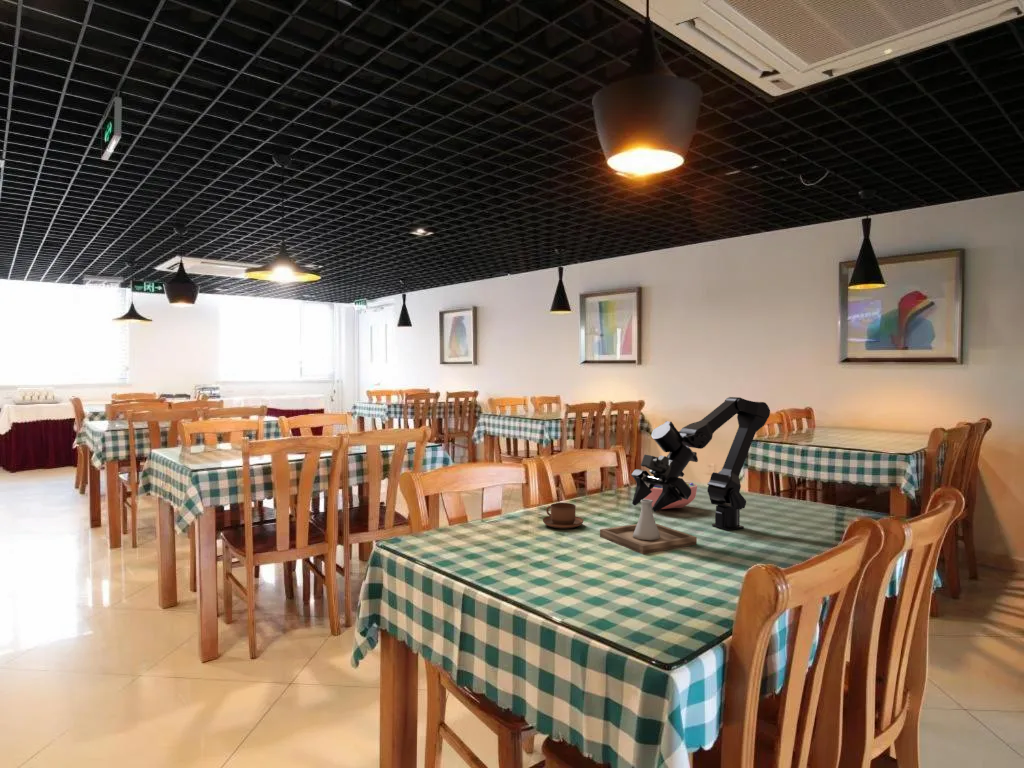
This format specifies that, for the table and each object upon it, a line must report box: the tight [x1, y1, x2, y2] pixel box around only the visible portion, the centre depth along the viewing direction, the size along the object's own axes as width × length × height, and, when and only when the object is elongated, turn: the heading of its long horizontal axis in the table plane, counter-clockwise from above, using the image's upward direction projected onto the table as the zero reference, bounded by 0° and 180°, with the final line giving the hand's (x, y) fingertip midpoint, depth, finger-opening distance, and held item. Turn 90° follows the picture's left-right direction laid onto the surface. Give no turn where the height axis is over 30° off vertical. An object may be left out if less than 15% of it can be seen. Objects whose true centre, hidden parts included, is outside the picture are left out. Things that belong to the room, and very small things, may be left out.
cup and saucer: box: [542, 502, 584, 530], centre depth 178 cm, size 12×12×6 cm
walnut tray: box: [599, 523, 698, 555], centre depth 162 cm, size 18×18×2 cm
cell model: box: [635, 481, 698, 510], centre depth 200 cm, size 17×20×11 cm
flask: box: [632, 499, 660, 540], centre depth 162 cm, size 7×7×10 cm
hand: (643, 507), depth 161 cm, fingers open, 8 cm apart
